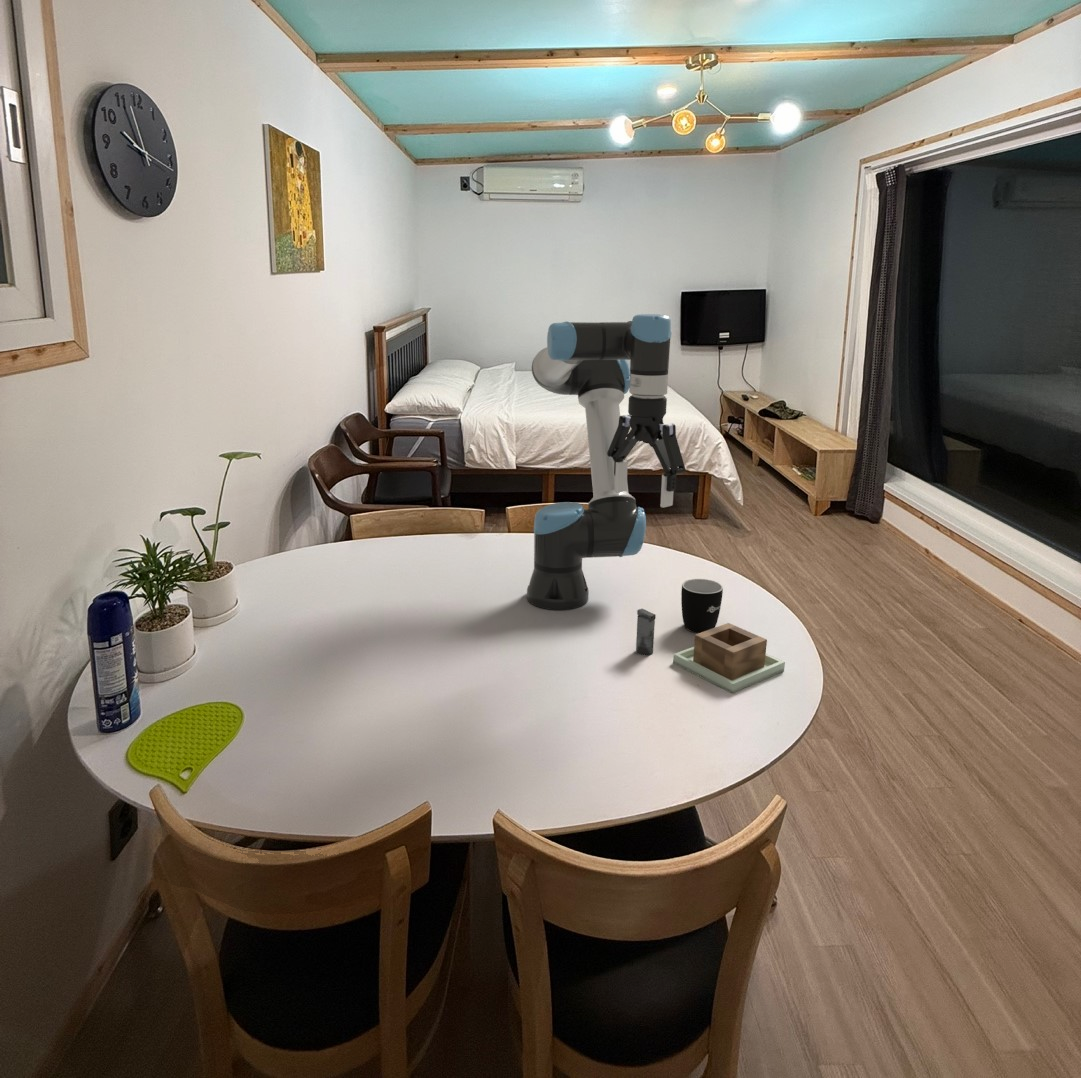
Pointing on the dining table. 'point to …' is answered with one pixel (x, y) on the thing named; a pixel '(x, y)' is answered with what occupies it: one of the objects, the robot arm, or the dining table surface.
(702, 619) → the mug
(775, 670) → the tray
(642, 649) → the dark grey upright block
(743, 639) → the wooden open box
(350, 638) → the dining table surface
